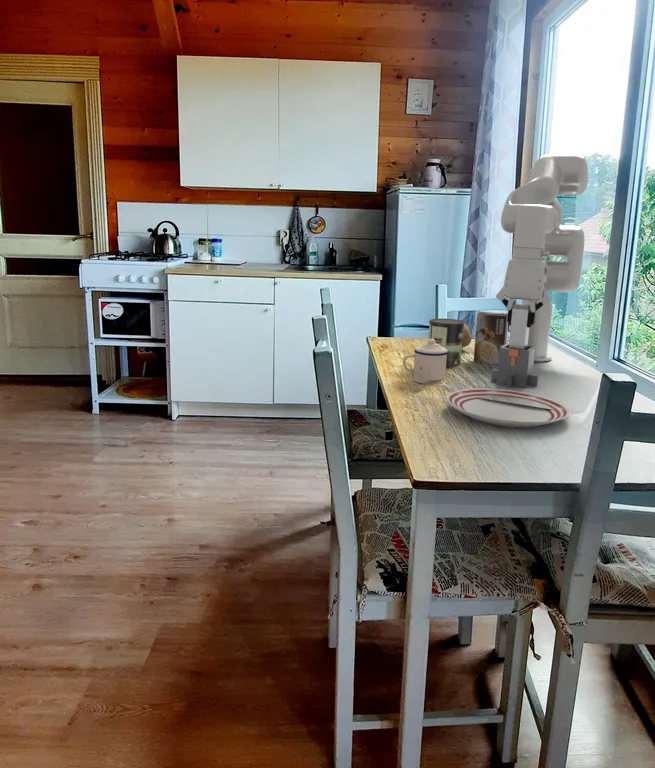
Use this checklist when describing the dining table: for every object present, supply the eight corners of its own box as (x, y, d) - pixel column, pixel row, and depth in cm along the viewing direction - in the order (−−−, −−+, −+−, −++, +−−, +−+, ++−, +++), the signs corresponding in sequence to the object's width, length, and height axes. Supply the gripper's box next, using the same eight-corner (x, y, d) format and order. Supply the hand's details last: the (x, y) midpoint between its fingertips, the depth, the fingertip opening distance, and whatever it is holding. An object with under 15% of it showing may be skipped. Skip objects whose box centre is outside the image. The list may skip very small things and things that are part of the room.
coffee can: (460, 364, 198) (464, 319, 195) (460, 372, 189) (464, 324, 185) (427, 362, 200) (430, 317, 197) (425, 369, 191) (428, 322, 187)
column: (508, 379, 175) (516, 303, 170) (523, 381, 173) (532, 304, 168) (504, 383, 171) (512, 304, 166) (519, 385, 169) (528, 306, 164)
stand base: (496, 380, 180) (500, 341, 178) (540, 386, 175) (545, 346, 172) (485, 389, 170) (489, 348, 167) (531, 396, 165) (536, 353, 162)
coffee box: (505, 364, 200) (510, 313, 196) (502, 368, 194) (507, 316, 190) (475, 361, 203) (480, 311, 199) (472, 365, 198) (476, 313, 194)
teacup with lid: (443, 378, 181) (447, 337, 178) (447, 386, 172) (450, 343, 169) (401, 376, 182) (403, 335, 179) (402, 384, 173) (404, 341, 170)
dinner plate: (509, 394, 166) (510, 382, 166) (595, 425, 143) (597, 411, 142) (422, 406, 154) (423, 392, 153) (500, 442, 131) (502, 426, 130)
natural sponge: (441, 346, 226) (444, 318, 224) (467, 347, 226) (469, 319, 223) (444, 351, 217) (447, 322, 215) (471, 352, 217) (474, 323, 214)
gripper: (564, 256, 163) (555, 327, 168) (498, 252, 171) (492, 320, 175) (559, 257, 157) (550, 331, 161) (491, 253, 164) (484, 324, 169)
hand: (520, 325), depth 168 cm, fingers closed on column, 4 cm apart
